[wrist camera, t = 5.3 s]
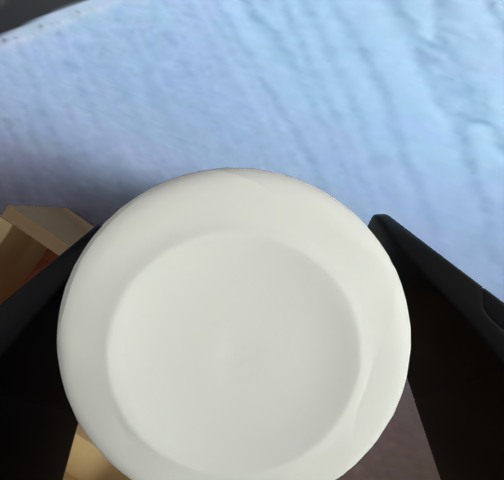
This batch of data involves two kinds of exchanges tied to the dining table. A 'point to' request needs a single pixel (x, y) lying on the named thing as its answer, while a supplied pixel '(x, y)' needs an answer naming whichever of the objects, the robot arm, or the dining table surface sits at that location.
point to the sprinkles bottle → (233, 332)
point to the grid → (25, 268)
